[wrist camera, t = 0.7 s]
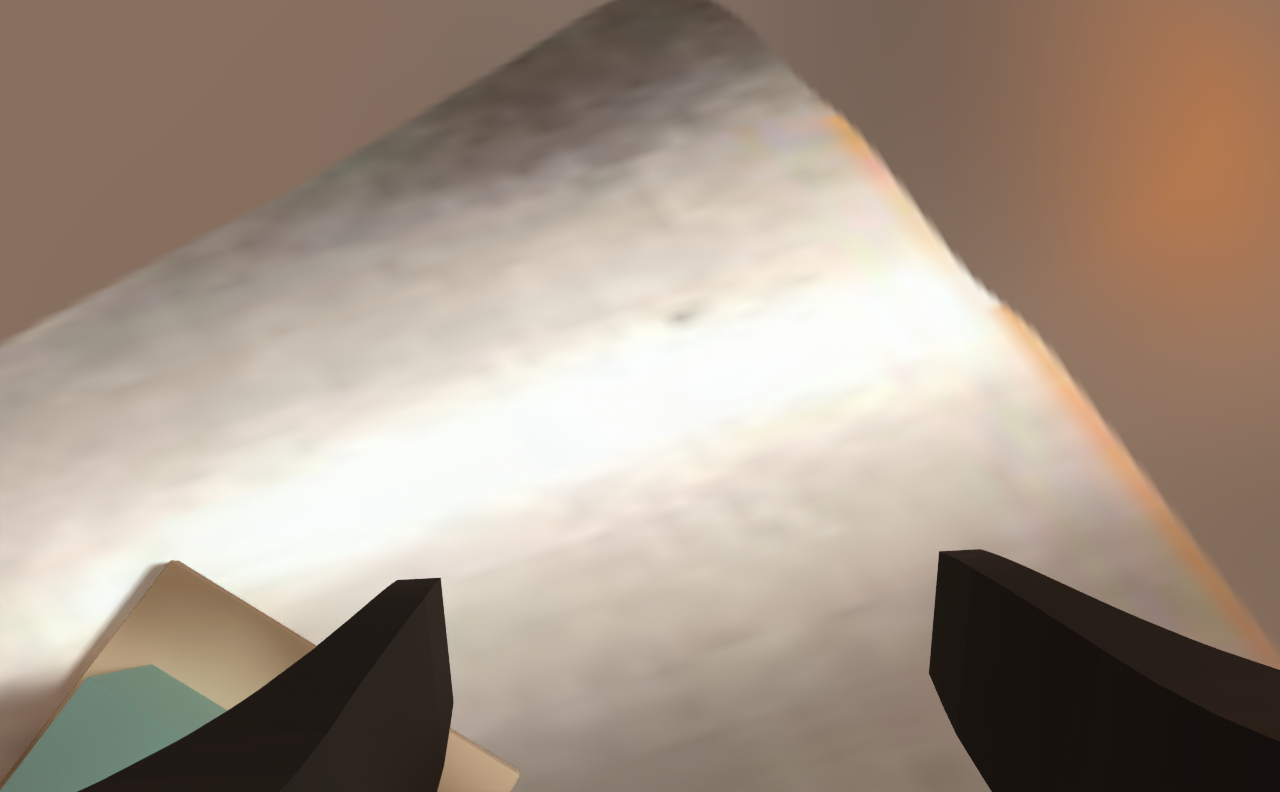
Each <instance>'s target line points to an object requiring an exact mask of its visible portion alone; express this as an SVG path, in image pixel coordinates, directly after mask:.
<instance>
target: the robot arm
mask: <svg viewBox="0 0 1280 792" xmlns="http://www.w3.org/2000/svg"><path fill="white" fill-rule="evenodd" d="M929 675H930V677H931V679H932V682H933V684H934V686H935V688H936V691H937V693H938V695H939V698H940V700H941V702H942V705H943V707H944V709H945V711H946V713H947V716H948V718H949V720H950V722H951V724H952V726H953V728H954V730H955V733H956V735H957V736H958V738H959V739H960V741H961V743H962V744H963V746H964V748H965V749H966V751H967V753H968V754H969V756H970V757H971V759H972V761H973V762H974V764H975V766H976V767H977V769H978V770H979V772H980V774H981V775H982V777H983V778H984V780H985V782H986V783H987V785H988V786H989V788H990V789H991V791H992V792H1280V670H1278V669H1275V668H1272V667H1269V666H1266V665H1263V664H1260V663H1257V662H1254V661H1251V660H1248V659H1245V658H1242V657H1239V656H1236V655H1233V654H1230V653H1227V652H1224V651H1222V650H1219V649H1216V648H1213V647H1211V646H1208V645H1205V644H1203V643H1200V642H1197V641H1195V640H1192V639H1189V638H1187V637H1184V636H1182V635H1180V634H1177V633H1175V632H1172V631H1170V630H1167V629H1165V628H1162V627H1160V626H1157V625H1155V624H1152V623H1150V622H1147V621H1145V620H1143V619H1140V618H1138V617H1136V616H1133V615H1131V614H1129V613H1126V612H1124V611H1122V610H1120V609H1117V608H1115V607H1113V606H1111V605H1108V604H1106V603H1104V602H1102V601H1099V600H1097V599H1095V598H1093V597H1091V596H1088V595H1086V594H1084V593H1082V592H1080V591H1077V590H1075V589H1073V588H1071V587H1069V586H1067V585H1064V584H1062V583H1060V582H1058V581H1056V580H1054V579H1051V578H1049V577H1047V576H1045V575H1043V574H1041V573H1038V572H1036V571H1034V570H1032V569H1030V568H1027V567H1025V566H1023V565H1020V564H1018V563H1016V562H1014V561H1011V560H1009V559H1006V558H1004V557H1001V556H999V555H996V554H993V553H990V552H987V551H984V550H981V549H977V550H959V551H940V552H939V561H938V573H937V585H936V597H935V608H934V620H933V632H932V644H931V656H930V668H929ZM452 709H453V693H452V683H451V674H450V664H449V654H448V645H447V635H446V626H445V616H444V606H443V597H442V587H441V578H428V579H409V580H397V581H395V582H394V583H392V584H391V585H390V586H388V587H387V588H386V589H385V590H383V591H382V592H381V593H380V594H378V595H377V596H376V597H375V598H374V599H373V600H371V601H370V602H369V603H368V604H367V605H365V606H364V607H363V608H362V609H361V610H360V611H358V612H357V613H356V614H355V615H354V616H353V617H351V618H350V619H349V620H348V621H347V622H345V623H344V624H343V625H342V626H341V627H339V628H338V629H337V630H336V631H334V632H333V633H332V634H331V635H330V636H328V637H327V638H326V639H325V640H324V641H322V642H321V643H320V644H319V645H318V646H316V647H315V648H314V649H313V650H311V651H310V652H309V653H307V654H306V655H305V656H303V657H302V658H301V659H299V660H298V661H297V662H295V663H294V664H293V665H291V666H290V667H289V668H287V669H286V670H285V671H283V672H282V673H280V674H279V675H278V676H276V677H275V678H274V679H272V680H271V681H270V682H268V683H267V684H266V685H264V686H263V687H262V688H260V689H259V690H258V691H256V692H255V693H253V694H252V695H250V696H249V697H247V698H246V699H244V700H243V701H241V702H240V703H238V704H237V705H235V706H234V707H232V708H231V709H229V710H228V711H226V712H224V713H223V714H221V715H220V716H218V717H216V718H215V719H213V720H211V721H210V722H208V723H206V724H205V725H203V726H202V727H200V728H198V729H197V730H195V731H193V732H192V733H190V734H188V735H186V736H185V737H183V738H181V739H180V740H178V741H176V742H174V743H172V744H170V745H168V746H166V747H165V748H163V749H161V750H159V751H157V752H155V753H153V754H151V755H149V756H147V757H145V758H143V759H142V760H140V761H138V762H136V763H134V764H132V765H130V766H128V767H126V768H124V769H122V770H120V771H119V772H117V773H115V774H113V775H111V776H109V777H107V778H105V779H103V780H101V781H99V782H97V783H95V784H93V785H91V786H88V787H86V788H84V789H82V790H80V791H77V792H437V790H438V787H439V783H440V779H441V776H442V772H443V768H444V763H445V757H446V750H447V744H448V738H449V731H450V723H451V716H452Z"/></svg>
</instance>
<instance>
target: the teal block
mask: <svg viewBox="0 0 1280 792" xmlns="http://www.w3.org/2000/svg"><path fill="white" fill-rule="evenodd" d="M226 711H227V710H226V709H224V708H223V707H221V706H219V705H218V704H216V703H214V702H213V701H211V700H210V699H208V698H206V697H205V696H203V695H201V694H200V693H198V692H197V691H195V690H193V689H192V688H190V687H188V686H187V685H185V684H184V683H182V682H180V681H179V680H177V679H175V678H174V677H172V676H171V675H169V674H167V673H166V672H164V671H162V670H161V669H159V668H158V667H156V666H154V665H153V664H152V665H147V666H141V667H136V668H131V669H126V670H121V671H116V672H111V673H106V674H101V675H96V676H91V677H87V678H86V679H85V680H84V682H83V683H82V684H81V686H80V687H79V688H78V690H77V691H76V692H75V693H74V695H73V696H72V697H71V699H70V700H69V701H68V703H67V704H66V705H65V706H64V708H63V709H62V710H61V712H60V713H59V714H58V716H57V717H56V718H55V720H54V721H53V722H52V723H51V725H50V726H49V727H48V729H47V730H46V731H45V733H44V734H43V735H42V737H41V738H40V739H39V740H38V742H37V743H36V744H35V746H34V747H33V748H32V750H31V751H30V752H29V753H28V755H27V756H26V757H25V759H24V760H23V761H22V763H21V764H20V765H19V767H18V768H17V769H16V770H15V772H14V773H13V774H12V776H11V777H10V778H9V780H8V781H7V782H6V784H5V785H4V786H3V787H2V789H1V790H0V792H77V791H80V790H82V789H84V788H86V787H88V786H91V785H93V784H95V783H97V782H99V781H101V780H103V779H105V778H107V777H109V776H111V775H113V774H115V773H117V772H119V771H120V770H122V769H124V768H126V767H128V766H130V765H132V764H134V763H136V762H138V761H140V760H142V759H143V758H145V757H147V756H149V755H151V754H153V753H155V752H157V751H159V750H161V749H163V748H165V747H166V746H168V745H170V744H172V743H174V742H176V741H178V740H180V739H181V738H183V737H185V736H186V735H188V734H190V733H192V732H193V731H195V730H197V729H198V728H200V727H202V726H203V725H205V724H206V723H208V722H210V721H211V720H213V719H215V718H216V717H218V716H220V715H221V714H223V713H224V712H226Z"/></svg>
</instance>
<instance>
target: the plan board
mask: <svg viewBox="0 0 1280 792" xmlns="http://www.w3.org/2000/svg"><path fill="white" fill-rule="evenodd" d="M315 647H316V645H314V644H313V643H311V642H310V641H308V640H306V639H305V638H303V637H301V636H300V635H298V634H297V633H295V632H293V631H292V630H290V629H288V628H287V627H285V626H284V625H282V624H280V623H279V622H277V621H275V620H274V619H272V618H271V617H269V616H267V615H266V614H264V613H262V612H261V611H259V610H258V609H256V608H254V607H253V606H251V605H249V604H248V603H246V602H245V601H243V600H241V599H240V598H238V597H236V596H235V595H233V594H232V593H230V592H228V591H227V590H225V589H224V588H222V587H220V586H219V585H217V584H215V583H214V582H212V581H211V580H209V579H207V578H206V577H204V576H202V575H201V574H199V573H198V572H196V571H194V570H193V569H191V568H189V567H188V566H186V565H185V564H183V563H181V562H180V561H172V560H171V561H170V562H169V564H168V565H167V566H166V568H165V569H164V570H163V571H162V573H161V574H160V575H159V577H158V578H157V579H156V581H155V582H154V583H153V585H152V586H151V587H150V589H149V590H148V591H147V592H146V594H145V595H144V596H143V598H142V599H141V600H140V602H139V603H138V604H137V606H136V607H135V608H134V609H133V611H132V612H131V613H130V615H129V616H128V617H127V619H126V620H125V621H124V623H123V624H122V625H121V627H120V628H119V629H118V630H117V632H116V633H115V634H114V636H113V637H112V638H111V640H110V641H109V642H108V644H107V645H106V646H105V648H104V649H103V650H102V651H101V653H100V654H99V655H98V657H97V658H96V659H95V661H94V662H93V663H92V665H91V666H90V667H89V668H88V670H87V671H86V672H85V674H84V675H83V676H82V678H81V679H80V680H79V682H78V683H77V684H76V686H75V687H74V688H73V689H72V691H71V692H70V693H69V695H68V696H67V697H66V699H65V700H64V701H63V703H62V704H61V705H60V706H59V708H58V709H57V710H56V712H55V713H54V714H53V716H52V717H51V718H50V720H49V721H48V722H47V724H46V725H45V726H44V727H43V729H42V730H41V731H40V733H39V734H38V735H37V737H36V738H35V739H34V741H33V742H32V743H31V745H30V746H29V747H28V748H27V750H26V751H25V752H24V754H23V755H22V756H21V758H20V759H19V760H18V762H17V763H16V764H15V765H14V767H13V768H12V769H11V771H10V772H9V773H8V775H7V776H6V777H5V779H4V780H3V781H2V783H1V784H0V790H1V789H2V787H3V786H4V785H5V784H6V782H7V781H8V780H9V778H10V777H11V776H12V774H13V773H14V772H15V770H16V769H17V768H18V767H19V765H20V764H21V763H22V761H23V760H24V759H25V757H26V756H27V755H28V753H29V752H30V751H31V750H32V748H33V747H34V746H35V744H36V743H37V742H38V740H39V739H40V738H41V737H42V735H43V734H44V733H45V731H46V730H47V729H48V727H49V726H50V725H51V723H52V722H53V721H54V720H55V718H56V717H57V716H58V714H59V713H60V712H61V710H62V709H63V708H64V706H65V705H66V704H67V703H68V701H69V700H70V699H71V697H72V696H73V695H74V693H75V692H76V691H77V690H78V688H79V687H80V686H81V684H82V683H83V682H84V680H85V679H86V678H87V677H91V676H96V675H101V674H106V673H111V672H116V671H121V670H126V669H131V668H136V667H141V666H147V665H152V664H153V665H154V666H156V667H158V668H159V669H161V670H162V671H164V672H166V673H167V674H169V675H171V676H172V677H174V678H175V679H177V680H179V681H180V682H182V683H184V684H185V685H187V686H188V687H190V688H192V689H193V690H195V691H197V692H198V693H200V694H201V695H203V696H205V697H206V698H208V699H210V700H211V701H213V702H214V703H216V704H218V705H219V706H221V707H223V708H224V709H226V710H227V711H228V710H229V709H231V708H232V707H234V706H235V705H237V704H238V703H240V702H241V701H243V700H244V699H246V698H247V697H249V696H250V695H252V694H253V693H255V692H256V691H258V690H259V689H260V688H262V687H263V686H264V685H266V684H267V683H268V682H270V681H271V680H272V679H274V678H275V677H276V676H278V675H279V674H280V673H282V672H283V671H285V670H286V669H287V668H289V667H290V666H291V665H293V664H294V663H295V662H297V661H298V660H299V659H301V658H302V657H303V656H305V655H306V654H307V653H309V652H310V651H311V650H313V649H314V648H315ZM519 776H520V774H519V770H517V769H516V768H514V767H512V766H511V765H509V764H507V763H506V762H504V761H503V760H501V759H499V758H498V757H496V756H494V755H493V754H491V753H490V752H488V751H486V750H485V749H483V748H481V747H480V746H478V745H477V744H475V743H473V742H472V741H470V740H469V739H467V738H465V737H464V736H462V735H460V734H459V733H457V732H456V731H454V730H452V729H451V728H450V731H449V738H448V744H447V750H446V757H445V763H444V768H443V772H442V776H441V779H440V783H439V787H438V790H437V792H510V791H511V790H512V788H513V786H514V784H515V783H516V781H517V779H518V778H519Z"/></svg>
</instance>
